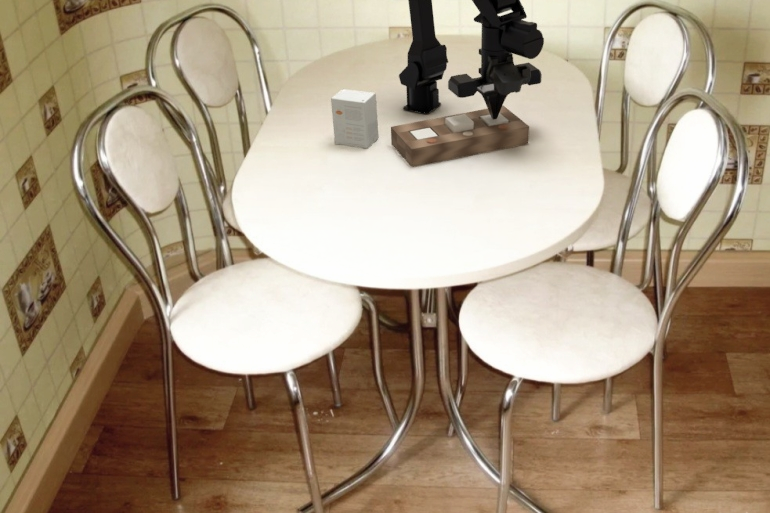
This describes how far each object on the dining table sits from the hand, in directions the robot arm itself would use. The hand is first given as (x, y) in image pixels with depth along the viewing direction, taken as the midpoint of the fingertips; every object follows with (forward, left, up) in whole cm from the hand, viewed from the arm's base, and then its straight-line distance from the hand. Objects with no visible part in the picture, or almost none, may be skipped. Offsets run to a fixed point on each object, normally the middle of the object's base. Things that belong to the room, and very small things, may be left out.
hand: (494, 118), depth 200 cm
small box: (-25, -15, -4) cm, 30 cm away
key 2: (0, 0, -3) cm, 3 cm away
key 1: (-10, -13, -3) cm, 16 cm away
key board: (-5, -6, -4) cm, 9 cm away
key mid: (-5, -6, -2) cm, 8 cm away
